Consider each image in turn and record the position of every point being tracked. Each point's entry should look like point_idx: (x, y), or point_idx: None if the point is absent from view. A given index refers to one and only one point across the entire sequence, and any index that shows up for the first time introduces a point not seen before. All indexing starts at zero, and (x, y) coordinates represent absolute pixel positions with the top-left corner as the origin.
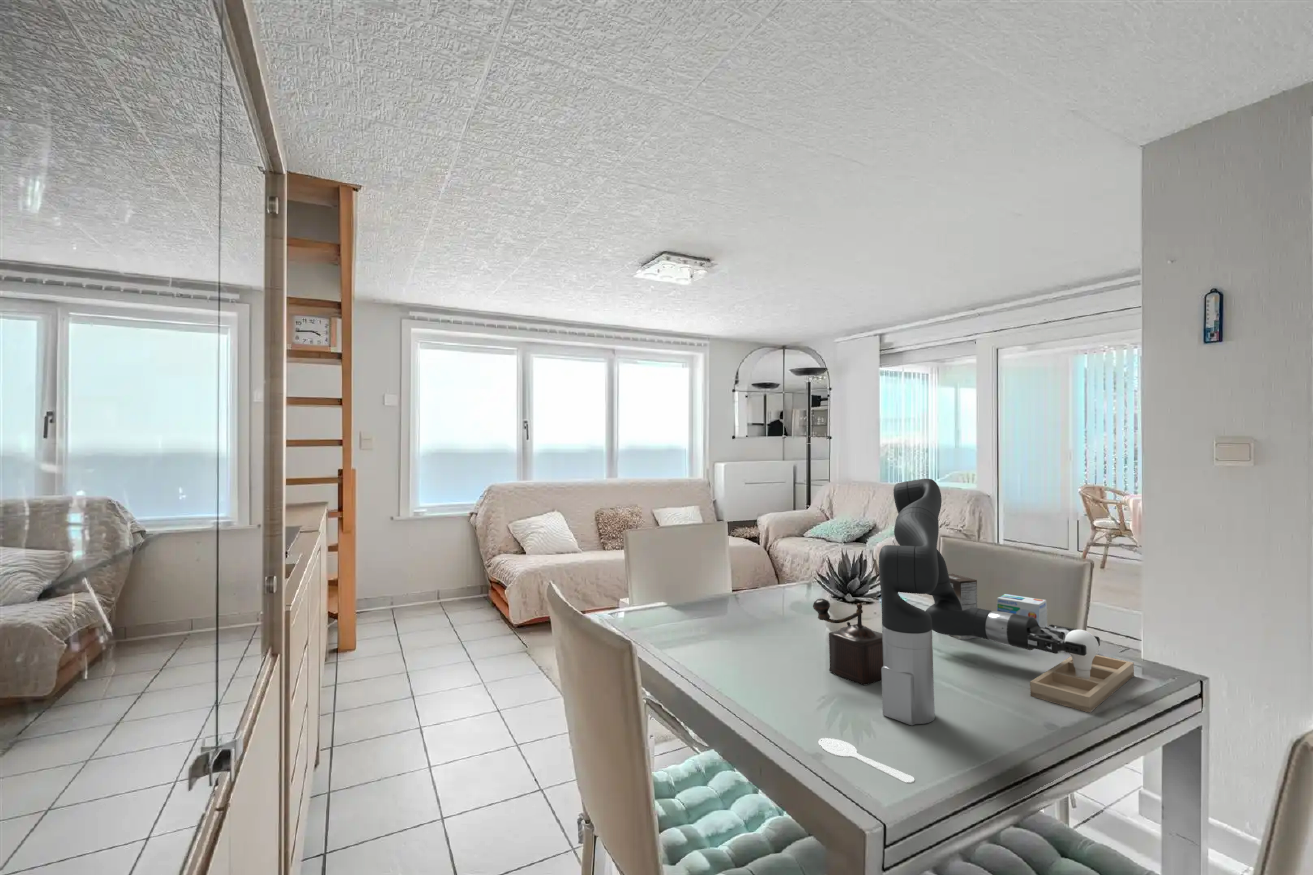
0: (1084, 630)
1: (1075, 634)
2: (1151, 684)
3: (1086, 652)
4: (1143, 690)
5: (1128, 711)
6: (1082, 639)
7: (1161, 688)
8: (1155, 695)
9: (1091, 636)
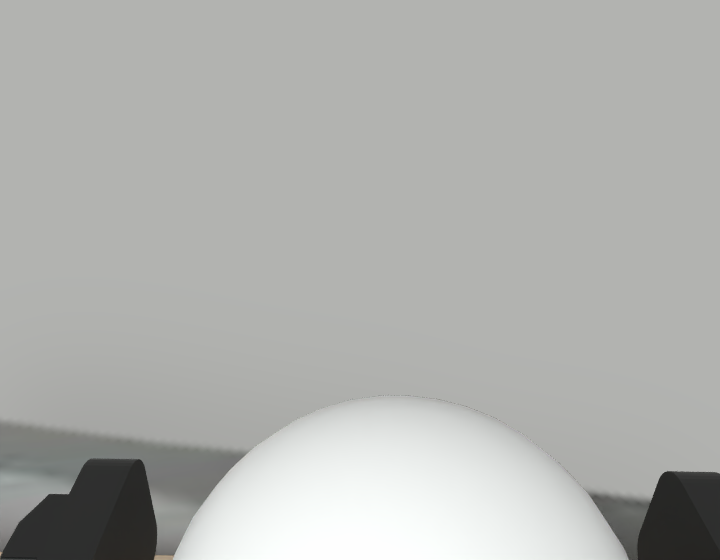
0: (336, 447)
1: (595, 550)
2: (15, 510)
3: (641, 528)
4: (176, 518)
5: (620, 502)
6: (584, 490)
7: (73, 466)
8: (230, 465)
9: (432, 399)
